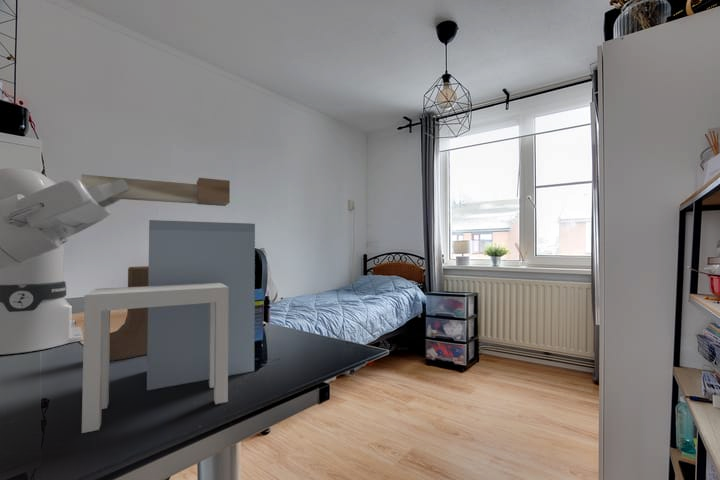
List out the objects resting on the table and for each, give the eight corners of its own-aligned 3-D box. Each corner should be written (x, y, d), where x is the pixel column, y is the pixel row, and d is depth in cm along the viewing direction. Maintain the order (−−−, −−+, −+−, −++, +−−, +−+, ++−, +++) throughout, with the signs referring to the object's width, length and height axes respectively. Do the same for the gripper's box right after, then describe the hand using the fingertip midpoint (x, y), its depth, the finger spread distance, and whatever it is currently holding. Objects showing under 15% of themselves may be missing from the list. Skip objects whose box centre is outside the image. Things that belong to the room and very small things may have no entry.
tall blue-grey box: (149, 370, 60) (151, 224, 61) (242, 355, 68) (243, 227, 69) (146, 390, 51) (149, 219, 52) (254, 371, 59) (254, 223, 60)
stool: (94, 406, 46) (96, 288, 47) (219, 382, 54) (220, 282, 55) (81, 433, 39) (84, 295, 40) (227, 401, 47) (228, 287, 48)
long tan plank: (86, 197, 54) (86, 173, 54) (225, 206, 65) (225, 185, 65) (79, 193, 50) (80, 166, 50) (229, 202, 61) (229, 180, 61)
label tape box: (254, 337, 83) (254, 287, 83) (264, 340, 80) (264, 288, 81) (220, 345, 76) (220, 290, 76) (229, 348, 73) (230, 291, 74)
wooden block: (102, 363, 64) (104, 268, 65) (99, 358, 67) (101, 267, 68) (156, 353, 70) (157, 266, 71) (151, 348, 73) (152, 266, 74)
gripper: (-22, 196, 39) (107, 152, 45) (36, 213, 57) (123, 180, 63) (14, 243, 41) (134, 194, 47) (59, 246, 58) (142, 210, 64)
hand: (128, 186), depth 55 cm, fingers closed on long tan plank, 3 cm apart
